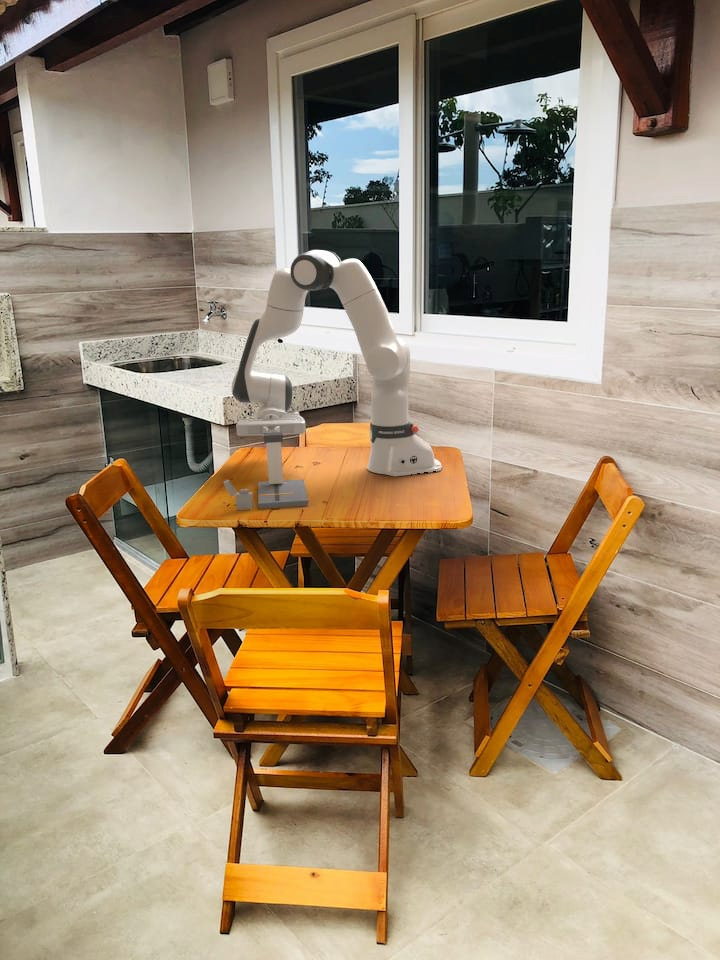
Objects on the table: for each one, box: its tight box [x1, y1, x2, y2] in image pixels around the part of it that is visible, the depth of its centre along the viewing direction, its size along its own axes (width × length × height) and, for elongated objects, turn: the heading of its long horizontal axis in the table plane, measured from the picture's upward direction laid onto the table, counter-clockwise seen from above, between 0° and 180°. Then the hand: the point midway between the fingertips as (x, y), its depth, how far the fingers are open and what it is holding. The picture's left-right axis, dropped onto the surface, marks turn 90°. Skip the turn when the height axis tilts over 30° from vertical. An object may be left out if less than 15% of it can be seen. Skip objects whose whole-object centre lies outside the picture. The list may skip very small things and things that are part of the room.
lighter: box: [222, 479, 254, 511], centre depth 206 cm, size 7×2×8 cm, turn 92°
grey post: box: [263, 432, 284, 484], centre depth 221 cm, size 5×4×14 cm
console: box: [257, 478, 309, 510], centre depth 216 cm, size 13×20×2 cm, turn 7°
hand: (271, 433), depth 226 cm, fingers closed
